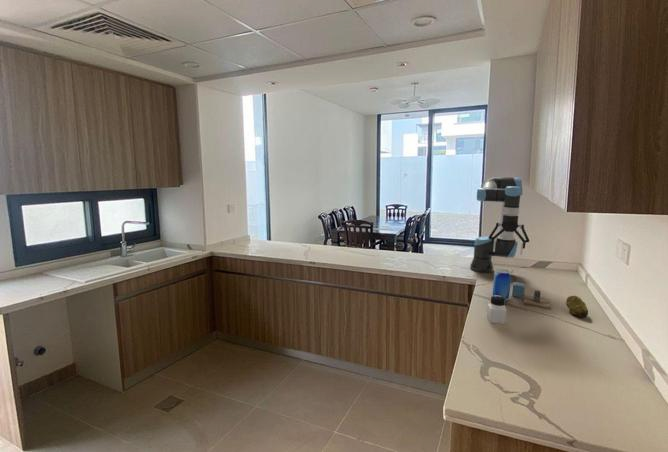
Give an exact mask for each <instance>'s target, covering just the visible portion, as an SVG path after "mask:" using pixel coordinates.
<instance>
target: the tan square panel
mask: <svg viewBox="0 0 668 452" xmlns="http://www.w3.org/2000/svg"><path fill="white" fill-rule="evenodd" d="M533 294H534V295H533V296H530V295H523V304H524V306H530V307H537V308H543V309H550V310H551V303H550V300H549V298H545V297H541V290H538V289H534V293H533Z"/></svg>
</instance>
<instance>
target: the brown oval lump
mask: <svg viewBox="0 0 668 452" xmlns="http://www.w3.org/2000/svg"><path fill="white" fill-rule="evenodd" d="M565 304H566V307H567V308H568V310H569V312H570V314H572V315H574V316H576V317H579V318H586V317H587V316H588V315H589V310H588V308H587V305H586V302H585V301H584V300H582V298H581V297H579V296H577V295H569V296H568V297H567V298H566V301H565Z"/></svg>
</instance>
